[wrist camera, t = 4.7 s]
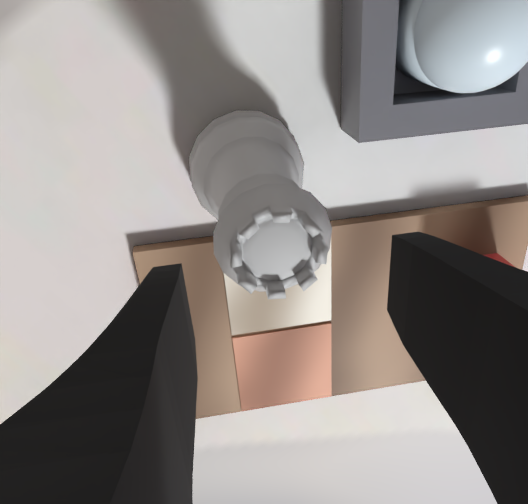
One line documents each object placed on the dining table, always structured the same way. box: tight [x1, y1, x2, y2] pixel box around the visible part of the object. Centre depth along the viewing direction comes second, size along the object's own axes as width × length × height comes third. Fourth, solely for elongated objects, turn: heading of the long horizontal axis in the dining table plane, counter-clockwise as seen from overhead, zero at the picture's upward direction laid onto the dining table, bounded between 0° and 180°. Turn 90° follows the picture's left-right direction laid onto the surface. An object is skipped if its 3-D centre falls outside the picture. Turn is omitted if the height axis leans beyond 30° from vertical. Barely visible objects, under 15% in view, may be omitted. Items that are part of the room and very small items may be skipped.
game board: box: [133, 195, 528, 419], centre depth 22 cm, size 18×10×1 cm, turn 94°
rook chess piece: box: [189, 111, 332, 299], centre depth 15 cm, size 4×4×8 cm
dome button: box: [395, 0, 528, 93], centre depth 15 cm, size 4×4×4 cm
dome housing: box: [341, 0, 528, 143], centre depth 16 cm, size 7×7×2 cm
